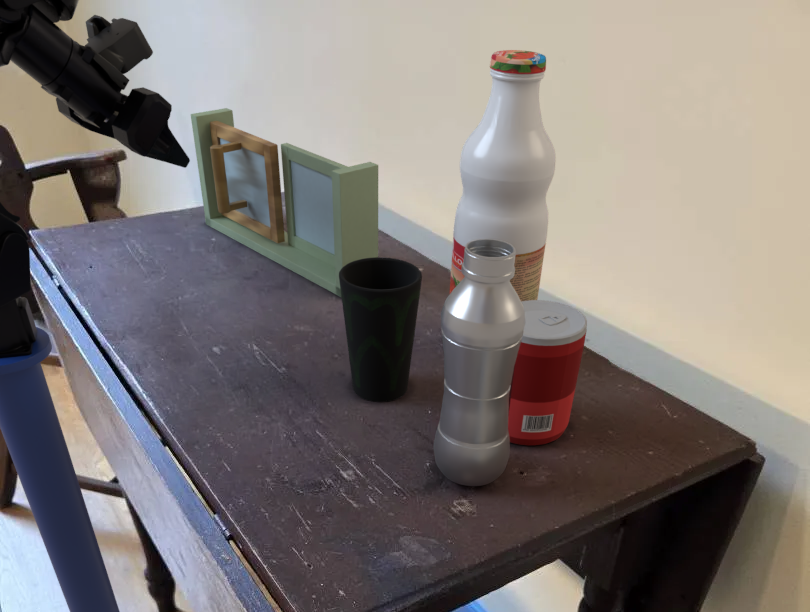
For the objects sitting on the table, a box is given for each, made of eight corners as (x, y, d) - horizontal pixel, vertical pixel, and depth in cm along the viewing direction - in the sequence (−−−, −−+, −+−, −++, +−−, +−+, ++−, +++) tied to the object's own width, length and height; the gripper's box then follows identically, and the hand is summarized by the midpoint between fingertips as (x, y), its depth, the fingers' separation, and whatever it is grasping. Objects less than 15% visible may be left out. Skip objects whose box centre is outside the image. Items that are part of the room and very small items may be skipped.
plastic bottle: (477, 506, 65) (503, 275, 52) (416, 473, 69) (425, 248, 55) (521, 472, 69) (555, 248, 56) (460, 442, 72) (479, 224, 59)
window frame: (205, 224, 112) (189, 113, 103) (238, 216, 115) (226, 107, 106) (343, 299, 95) (340, 174, 85) (378, 287, 98) (378, 164, 88)
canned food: (583, 424, 75) (605, 318, 68) (533, 458, 71) (552, 348, 64) (519, 394, 79) (534, 291, 72) (469, 425, 75) (479, 317, 67)
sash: (195, 221, 109) (181, 126, 101) (228, 212, 112) (217, 120, 104) (251, 251, 101) (240, 152, 93) (285, 241, 104) (277, 144, 96)
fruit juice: (525, 371, 83) (569, 69, 64) (438, 360, 84) (457, 60, 66) (534, 332, 90) (576, 48, 71) (453, 322, 91) (474, 41, 72)
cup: (353, 365, 83) (350, 253, 75) (423, 373, 82) (428, 261, 74) (333, 402, 77) (329, 285, 69) (409, 412, 76) (412, 294, 68)
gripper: (136, 2, 76) (245, 111, 89) (55, -20, 86) (163, 81, 99) (79, 104, 77) (195, 197, 90) (6, 71, 87) (119, 158, 100)
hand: (168, 154), depth 95 cm, fingers open, 9 cm apart
